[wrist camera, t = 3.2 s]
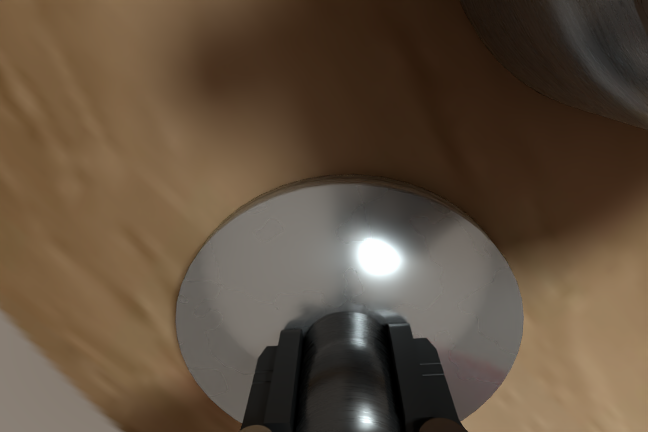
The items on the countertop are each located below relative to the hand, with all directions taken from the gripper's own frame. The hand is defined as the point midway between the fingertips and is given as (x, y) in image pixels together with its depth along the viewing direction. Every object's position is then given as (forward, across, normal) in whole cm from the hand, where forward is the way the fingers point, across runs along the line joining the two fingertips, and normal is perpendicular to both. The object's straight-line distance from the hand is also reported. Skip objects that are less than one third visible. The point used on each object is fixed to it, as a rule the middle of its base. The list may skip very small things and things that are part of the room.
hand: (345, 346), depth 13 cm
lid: (+1, 0, 0) cm, 1 cm away
